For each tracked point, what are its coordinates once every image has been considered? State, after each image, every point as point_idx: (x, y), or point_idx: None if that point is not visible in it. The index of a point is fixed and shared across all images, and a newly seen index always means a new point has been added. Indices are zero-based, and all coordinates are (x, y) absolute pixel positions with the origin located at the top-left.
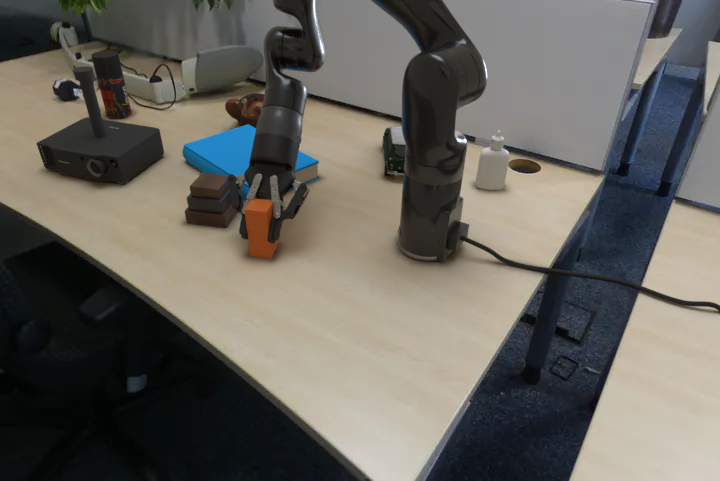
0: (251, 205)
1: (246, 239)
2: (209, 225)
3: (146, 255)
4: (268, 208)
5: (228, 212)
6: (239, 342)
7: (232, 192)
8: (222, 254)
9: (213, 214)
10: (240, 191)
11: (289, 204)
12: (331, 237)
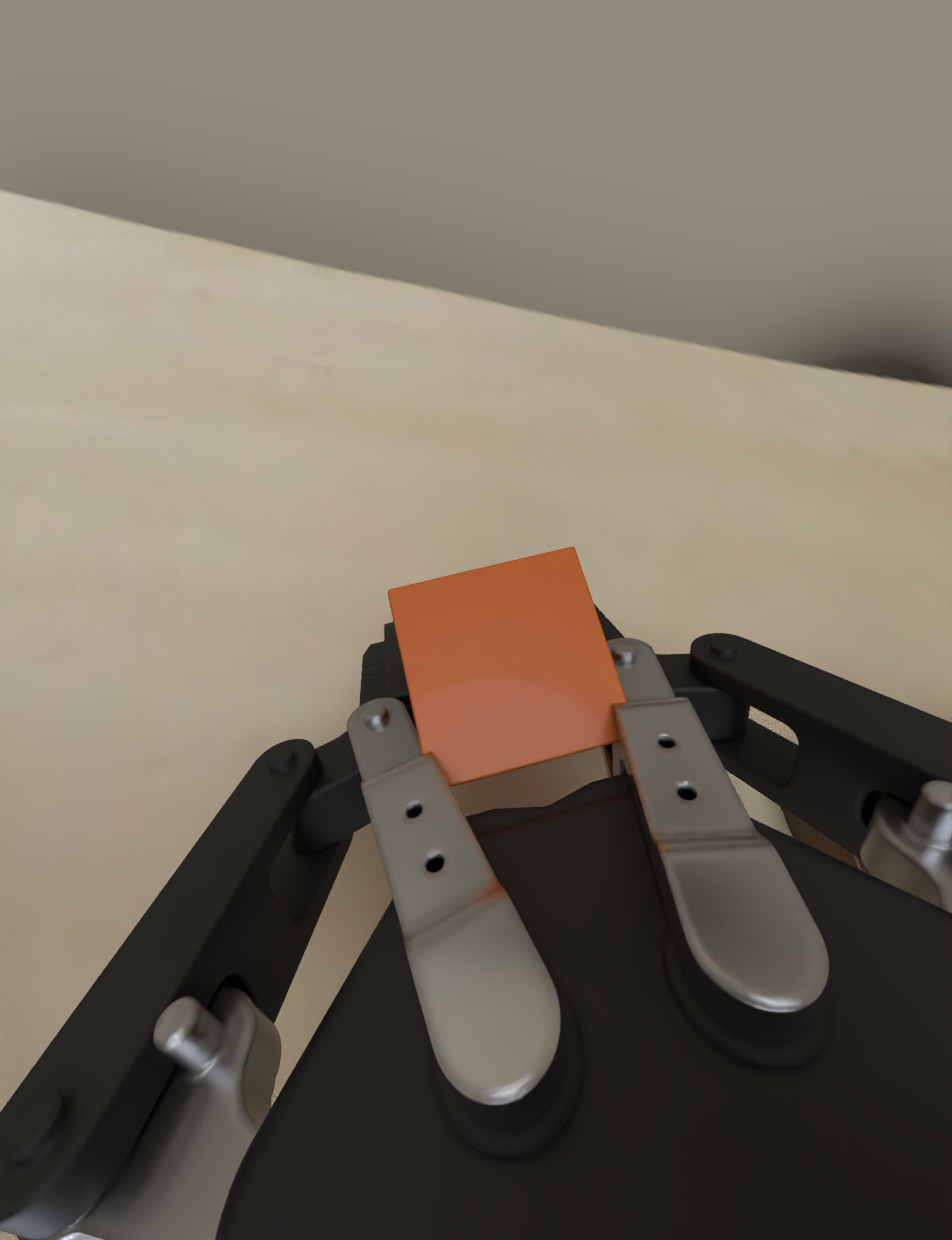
0: (562, 620)
1: None
2: None
3: (876, 474)
4: (402, 646)
5: (845, 855)
6: (301, 299)
7: (857, 701)
8: (633, 605)
9: None
10: (840, 820)
11: (268, 817)
12: None
